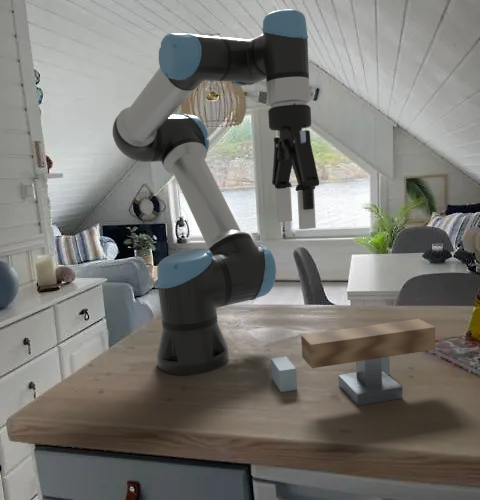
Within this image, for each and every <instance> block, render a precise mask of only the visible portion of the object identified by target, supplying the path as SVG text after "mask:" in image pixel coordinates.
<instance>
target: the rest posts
mask: <svg viewBox="0 0 480 500" xmlns="http://www.w3.org/2000/svg"><path fill="white" fill-rule="evenodd" d="M390 358H391V356H390V357H383V358H381V363H382V371H383V372H385V373H386V374H387V375H388V376H390V374H391V369H390V366H391V365H390V364H391V363H390V361H391V360H390ZM270 363H271V365H270V366H271V379H272V381H273V382H274V384H275V385H276V387H277V388H278V390H279V391H280V393H285V392H290V391H296V390H297V391H298V380H297V368H296V366H295V365H294V364H293V363H292V362H291V360H290V359H289V358H288V357H287V356H280V357H273V358H270Z"/></svg>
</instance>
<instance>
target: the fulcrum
mask: <svg viewBox="0 0 480 500" xmlns="http://www.w3.org/2000/svg"><path fill="white" fill-rule="evenodd" d="M355 367H356V368H355V369H356V371H355V372H349V373H344V374H338V387H339V388H340V389H341V390H342V391H344V393H345V394H346V395H347V396H348V397H349V398H350V399H351V400H352V401H353V402H354V403H355V405H356V406H358V407H359V406H363V405H369V404H370V405H371V404H376V403H382V402H387V401H394V400H400V399H403V397H404V395H403V394H404V393H403V386H402V385H401V384H400V383H398V381H396V380H394V379H393V378H392V377H391V376H390V375H387V374H386V373H385V372H383V371H382V363H381V358H377V359H370V360H364V361H357V362H355Z"/></svg>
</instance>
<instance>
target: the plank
mask: <svg viewBox="0 0 480 500" xmlns="http://www.w3.org/2000/svg"><path fill="white" fill-rule="evenodd" d="M300 339H301V357H302V359H303V360H304V361H305V362H306V363H307V364H308V365H309V366H310V368H311V369H315V368H322V367H330V366H335V365H342V364H343V365H344V364H349V363H356V362H357V361H364V360H370V359H377V358H383V357H390V358H391V357H394V356H402V355H407V354H408V355H410V354H414V353H415V354H416V353H422V352H423V353H424V352H428V351H429V352H430V351H435V350H436V327H435V326H434V325H432V324H431V323H428V322H426V321H424V320H422V319H420V318H413V319H406V320H399V321H393V322H386V323H385V322H384V323H379V324H378V323H377V324H373V325H372V324H370V325H364V326H356V327H349V328H342V329H335V330H328V331H327V330H326V331H322V332H321V331H320V332H319V331H318V332H314V333H306V334H301V335H300Z"/></svg>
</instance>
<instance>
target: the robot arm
mask: <svg viewBox="0 0 480 500" xmlns="http://www.w3.org/2000/svg"><path fill="white" fill-rule="evenodd" d="M306 20H307V19H306V16H305V14H304V13H303V12H301V11H299V10H295V9H279V10H275V11H271V12H270V13H268V14H266V15H265V16H264V19H263V21H262V33H261V34H260V35H258V36H256V37H253V38H250V39H244V38H235V37H225V36H221V37H220V36H214V35H213V36H212V35H203V34H193V33H189V32H183V33H174V32H173V33H170V32H169V33H168V34H166V35H164V36H163V38H162V39H161V42H160V47H159V50H158V64H159V65H158V66H159V67H158V69H157V71H156V72H155V73H154V74H153V75H152V77H151V79H150V80H149V81H148V83H147V84H145V85H146V86H145V87H144V88H143V90H141V92H140V93H139V95H138V96H137V97H136V98H135V99H134V101H133V103H132V104H131V105H130V106H128V107H125V108H124V109H122V110H121V111H120V112H119V113H118V115H117V116H116V118H115V119H114V122H113V125H112V137H113V140H114V143H115V145H116V147H117V148H118V150H119V151H120V152H121V154H123V155H125V156H126V157H128V158H129V159H131V160H134V161H136V162H142V163H146V162H147V163H148V162H149V163H152V162H161V164H162V165H163V168H164V169H165V171H166V173H168V174H171V175H173V176H174V178H175V179H176V182H177V184H178V185H179V188H180V190H181V193H182V195H183V197H184V198H185V201H186V204H187V206H188V208H189V210H190V212H191V215H192V216H193V218H194V221H195V222H196V225H197V227H198V229H199V232H200V234H201V236H202V238H203V240H204V243H205V244H206V247H207V248H194V249H193V248H192V249H191V250H190V249H187V250H183V251H179V252H176V253H173V254H170V255H168V256H166V257H164V258H162V259H161V260H160V261H159V263H158V264H157V269H156V270H157V271H156V272H157V274H156V275H157V280H156V284H157V287H158V296H159V297H158V298H159V305H160V306H159V307H160V314H161V326H162V331H161V336H160V341H159V345H158V349H157V353H156V354H157V355H156V359H157V367H158V368H159V370H161V371H162V372H165V373H167V374H171V375H172V374H173V375H178V376H179V375H181V376H183V375H185V376H187V375H196V374H203V373H207V372H211V371H214V370H217V369H219V368H220V367H222V366H224V365H225V364H226V363H227V362H228V361H229V348H228V345H227V341H226V340H225V338H224V335H223V333H222V331H221V328H220V326H219V324H218V323H219V322H218V313H217V311H218V310H217V308H221V307H225V306H226V307H227V306H230V305H234V304H239V303H243V302H248V301H255V300H256V299H258V298H261V297H264V296H267V295H268V294H269V293H270V292H271V291H272V290H273V288H274V285H275V281H276V273H277V267H276V262H275V257H274V255H273V253H272V250H271V249H270V248H269V247H268V246H265V245H262V244H257V245H256V244H255V242H254V240H253V238H252V236H251V235H250V234H249V233H248V232H246V231H241V229H240V226H239V224H238V222H237V221H236V219H235V216H234V214H233V213H232V211H231V208H230V206H229V205H228V203H227V201H226V199H225V197H224V195H223V193H222V191H221V190H220V187H219V185H218V183H217V181H216V179H215V177H214V175H213V173H212V172H211V169H210V167H209V165H208V163H207V161H206V158H207V155H208V151H209V147H210V139H209V138H208V136H209V133H208V130H207V128H206V125H205V123H204V122H203V121H202V119H200V118H199V116H196V115H194V114H186V113H176V114H174V113H175V112H176V110H177V109H178V108H179V107H180V106H181V105H182V104H183V103H184V102H185V101H186V100H187V99H188V98H189V96H191V94H192V93H193V92H194V91H195V90H196V89H197V88H198V87H199V86H200V85H201V84H202V83H203V82H204V81H207V82H209V81H210V82H212V81H214V82H217V81H218V82H231V83H232V84H234V85H236V86H238V87H242V86H247V85H248V86H251V85H255V84H257V83H258V82H261V81H265V80H266V83H265V85H266V86H265V87H266V103H267V105H268V106H269V107H270V108H269V109H268V111H267V112H268V113H267V114H268V115H267V117H268V128H269V130H270V131H279V136H274V138H273V143H274V145H273V147H274V151H273V164H272V166H273V168H272V179H271V180H272V181H271V184H272V185H273V186H274V187H275V194H276V195H275V196H276V197H275V198H276V211H277V222H278V223H285V222H292V221H293V213H292V195H291V188H292V187H293V186H292V183H291V181H290V178H291V173H292V169H293V172H294V175H295V179H296V182H297V184H296V187H295V189H294V190H295V191H296V192H297V210H298V229H299V230H307V229H308V230H310V229H316V227H317V226H316V223H317V222H316V205H315V202H316V201H315V189H316V187H318V186H319V185H320V179H319V176H318V171H317V166H316V161H315V157H314V152H313V148H312V143H311V142H312V141H311V131H310V130H309V129H307V128H310V127H311V126H312V112H311V111H312V107H311V106H310V105H308V103H310V101H311V97H310V96H311V95H310V92H311V91H312V89H313V87H312V85H310V71H309V67H310V66H309V46H308V43H309V42H308V40H309V35H308V29H307V21H306ZM303 129H307V130H303Z"/></svg>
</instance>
